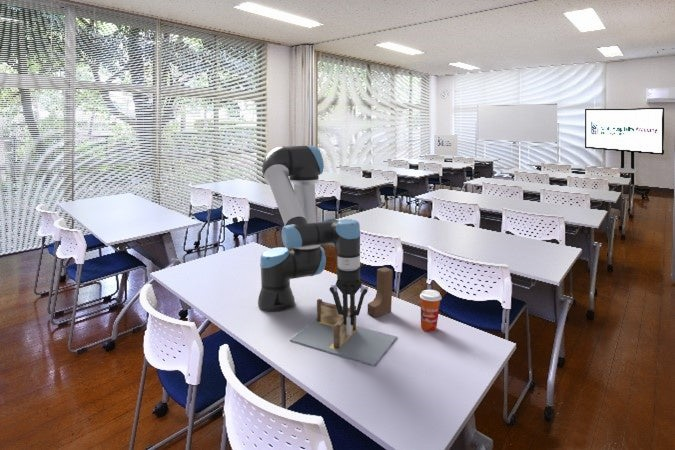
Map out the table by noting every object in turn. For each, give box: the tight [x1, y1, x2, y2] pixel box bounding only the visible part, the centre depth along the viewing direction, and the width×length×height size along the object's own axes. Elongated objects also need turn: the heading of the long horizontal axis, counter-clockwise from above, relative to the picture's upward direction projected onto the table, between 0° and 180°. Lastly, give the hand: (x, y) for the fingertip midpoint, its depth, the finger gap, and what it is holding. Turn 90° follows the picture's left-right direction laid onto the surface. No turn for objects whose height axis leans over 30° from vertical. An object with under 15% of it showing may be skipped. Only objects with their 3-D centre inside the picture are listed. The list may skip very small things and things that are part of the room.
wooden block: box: [366, 266, 394, 318], centre depth 163 cm, size 9×4×18 cm, turn 125°
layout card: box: [289, 318, 398, 367], centre depth 146 cm, size 32×20×1 cm, turn 62°
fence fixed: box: [316, 298, 357, 331], centre depth 154 cm, size 16×2×9 cm, turn 62°
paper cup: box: [419, 289, 443, 333], centre depth 152 cm, size 8×8×14 cm
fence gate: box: [334, 311, 353, 349], centre depth 143 cm, size 14×2×8 cm, turn 155°
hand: (349, 333), depth 141 cm, fingers closed
